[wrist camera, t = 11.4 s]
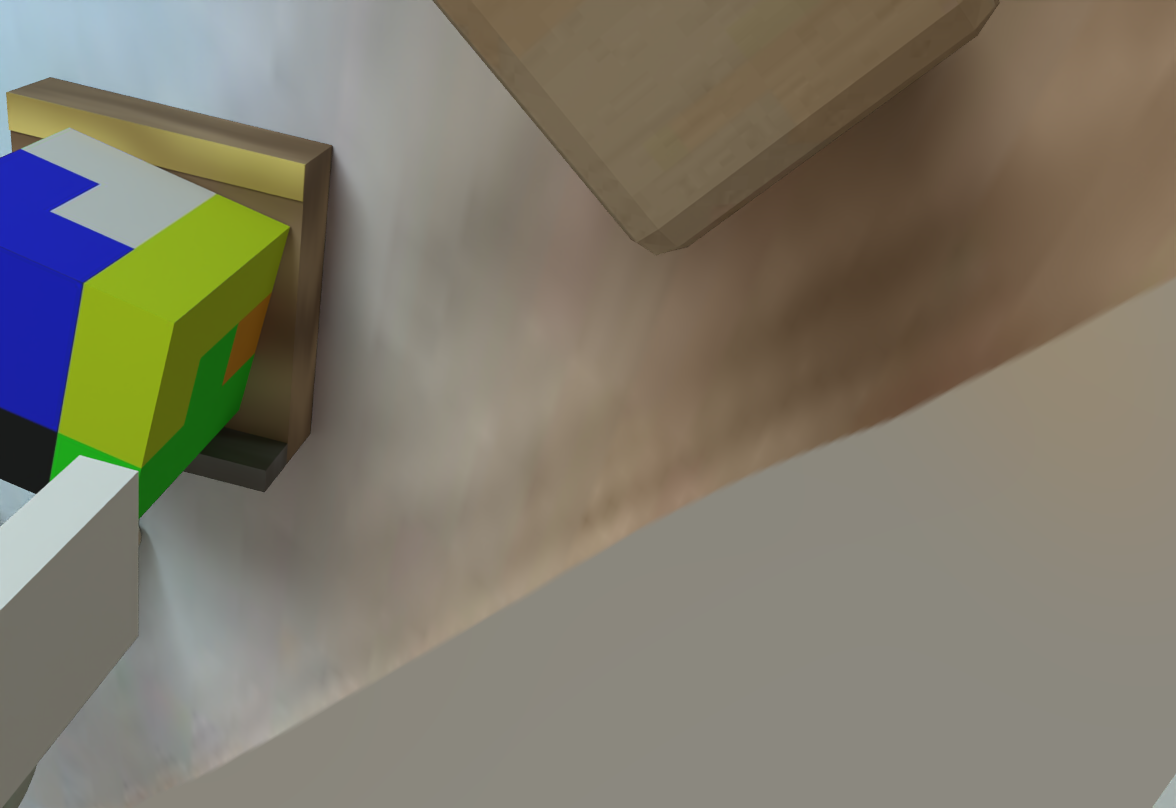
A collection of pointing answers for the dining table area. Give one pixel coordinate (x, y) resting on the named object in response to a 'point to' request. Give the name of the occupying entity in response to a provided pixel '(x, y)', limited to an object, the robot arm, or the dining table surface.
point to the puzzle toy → (122, 311)
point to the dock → (253, 179)
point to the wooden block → (703, 89)
